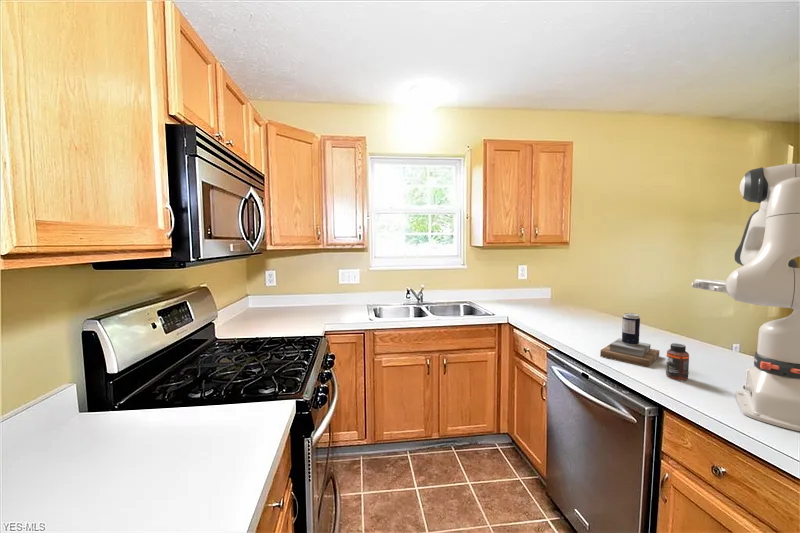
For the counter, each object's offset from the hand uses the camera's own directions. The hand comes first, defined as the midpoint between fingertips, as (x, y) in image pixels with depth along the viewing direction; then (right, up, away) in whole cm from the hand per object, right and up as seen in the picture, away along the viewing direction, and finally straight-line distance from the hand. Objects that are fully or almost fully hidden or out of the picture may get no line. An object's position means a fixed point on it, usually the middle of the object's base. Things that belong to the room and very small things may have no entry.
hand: (704, 287), depth 129 cm
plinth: (-22, -28, +9) cm, 37 cm away
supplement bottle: (-20, -30, -12) cm, 38 cm away
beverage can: (-22, -23, +9) cm, 33 cm away
